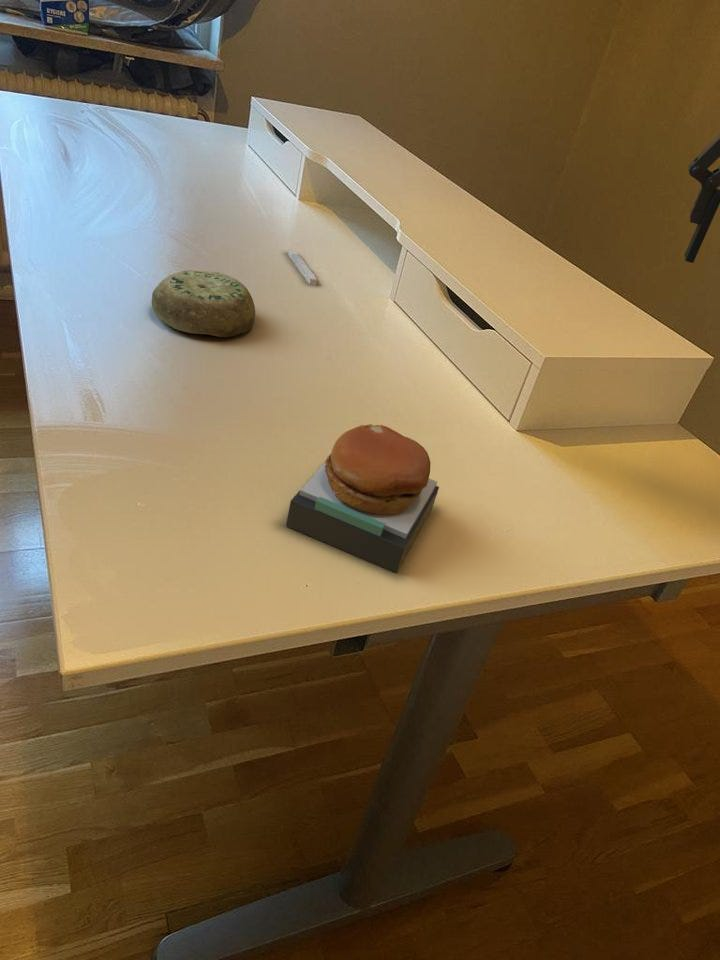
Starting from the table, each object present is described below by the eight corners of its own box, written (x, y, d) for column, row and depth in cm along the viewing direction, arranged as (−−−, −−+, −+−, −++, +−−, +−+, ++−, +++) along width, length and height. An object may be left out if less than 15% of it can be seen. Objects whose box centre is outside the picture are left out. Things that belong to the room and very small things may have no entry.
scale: (431, 510, 74) (442, 478, 72) (396, 573, 65) (407, 539, 63) (332, 470, 76) (339, 438, 74) (285, 526, 67) (292, 491, 65)
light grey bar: (315, 285, 118) (316, 279, 117) (309, 284, 117) (310, 278, 117) (294, 255, 127) (295, 250, 126) (288, 255, 127) (289, 249, 126)
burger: (356, 526, 64) (368, 483, 61) (305, 466, 70) (313, 423, 67) (444, 506, 69) (458, 465, 66) (389, 451, 75) (400, 411, 72)
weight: (128, 312, 96) (129, 275, 93) (196, 290, 106) (199, 256, 103) (210, 352, 92) (214, 314, 89) (273, 324, 102) (278, 290, 99)
